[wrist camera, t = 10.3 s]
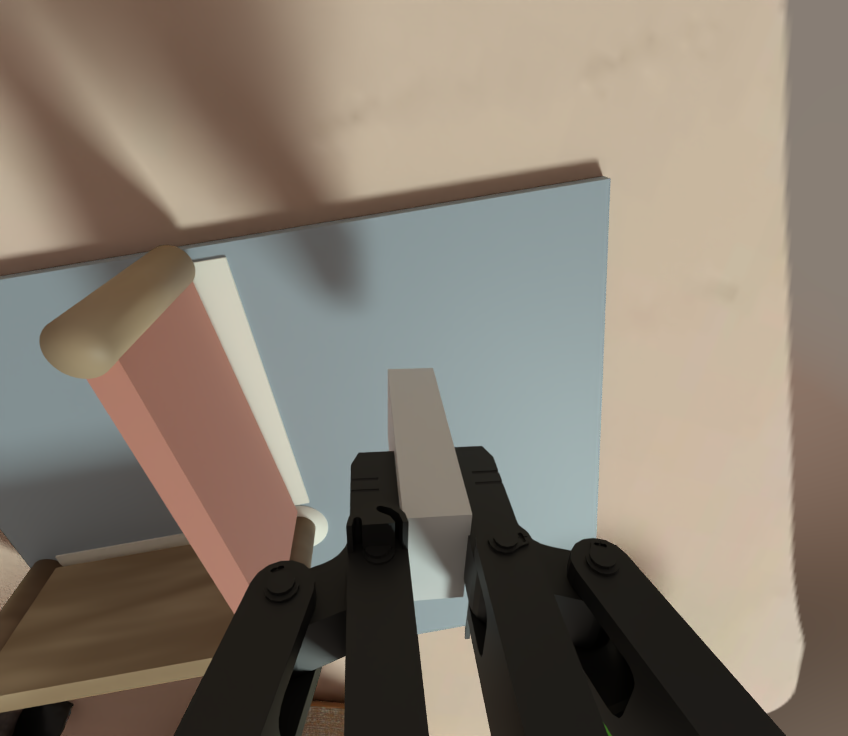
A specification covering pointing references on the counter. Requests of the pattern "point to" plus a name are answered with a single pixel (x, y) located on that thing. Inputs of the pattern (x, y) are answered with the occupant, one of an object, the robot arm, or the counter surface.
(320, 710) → the planter
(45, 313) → the card
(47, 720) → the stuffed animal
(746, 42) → the counter surface
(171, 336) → the hinged fence panel
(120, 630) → the fixed fence panel
